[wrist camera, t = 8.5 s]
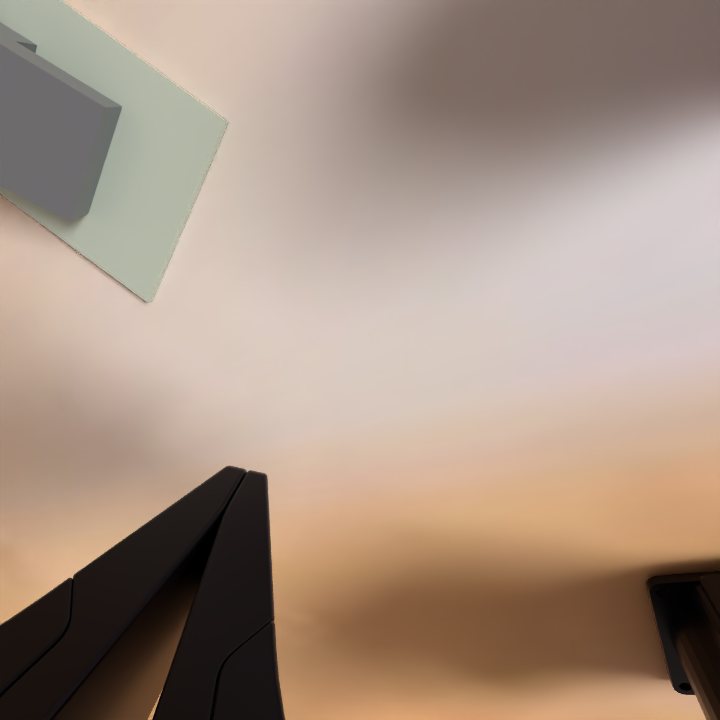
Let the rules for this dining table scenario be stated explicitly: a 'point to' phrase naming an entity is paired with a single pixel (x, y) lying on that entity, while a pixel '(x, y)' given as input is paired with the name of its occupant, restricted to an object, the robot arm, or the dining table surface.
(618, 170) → the dining table surface
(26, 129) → the domino
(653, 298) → the dining table surface
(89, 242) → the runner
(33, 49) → the domino
